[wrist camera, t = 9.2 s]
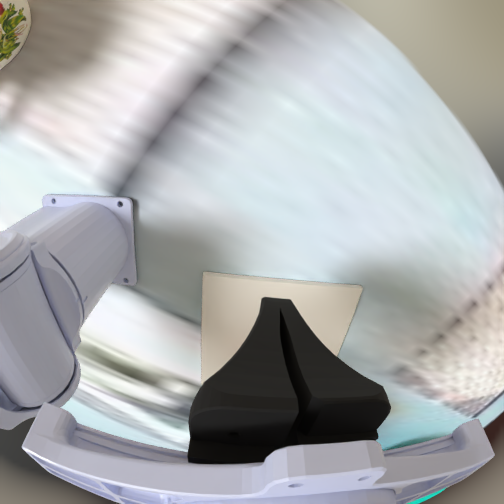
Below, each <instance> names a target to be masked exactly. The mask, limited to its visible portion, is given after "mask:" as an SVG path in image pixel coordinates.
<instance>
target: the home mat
mask: <svg viewBox="0 0 504 504" xmlns="http://www.w3.org/2000/svg"><path fill="white" fill-rule="evenodd" d="M362 290H363V288H362V286H361V285H350V284H337V283H324V282H312V281H300V280H288V279H277V278H265V277H255V276H244V275H234V274H224V273H214V272H205V271H204V272H203V284H202V327H201V385H203V383H204V381H206V380H207V379H208V378H210V377H211V376H212V375H214V374H215V373H216V372H217V371H218V370H220V369H221V368H222V367H223V366H224V365H225V364H226V363H227V362H228V361H229V360H230V359H231V358H232V356H233V355H234V354H235V353H236V352H237V350H238V349H239V348H240V347H241V345H242V344H243V342H244V341H245V339H246V338H247V336H248V335H249V333H250V331H251V329H252V327H253V326H254V324H255V321H256V319H257V317H258V314H259V310H260V304H261V299H262V298H263V297H272V298H282V299H291V301H292V302H293V303H294V305H295V307H296V308H297V310H298V311H299V313H300V314H301V316H302V317H303V319H304V320H305V322H306V323H307V325H308V326H309V327H310V329H311V330H312V331H313V332H314V334H315V335H316V336H317V337H318V339H319V340H320V341H321V342H322V343H323V344H324V345H325V346H326V347H327V348H328V349H329V350H330V351H331V352H332V353H333V354H334V355H335V356H337V355H338V353H339V350H340V348H341V345H342V343H343V341H344V338H345V336H346V333H347V331H348V328H349V325H350V323H351V320H352V318H353V315H354V312H355V310H356V307H357V304H358V301H359V298H360V296H361V293H362Z"/></svg>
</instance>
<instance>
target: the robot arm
mask: <svg viewBox="0 0 504 504" xmlns="http://www.w3.org/2000/svg"><path fill="white" fill-rule="evenodd" d="M54 199H55V201H56V202H54ZM119 201H121V202H122V203H123V206H120V204H119ZM42 203H43V207H42V208H40V209H39V210H37V211H35V212H33V213H32V214H30V215H28V216H27V217H25V218H23V219H22V220H20V221H19V222H17V223H15V224H14V225H12V226H11V227H9V228H7V229H6V230H5V231H1V232H0V428H1V429H6V430H11V429H13V428H14V427H15V426H17V425H18V424H20V423H21V422H23V421H24V420H26V419H29V418H32V417H36V418H35V420H34V422H33V424H32V426H31V428H30V430H29V432H28V434H27V437H26V439H25V441H24V443H23V445H22V448H23V449H24V450H25V451H26V452H27V453H28V454H29V455H30V456H31V457H32V458H33V459H34V460H35V461H37V462H38V463H39V464H40V465H41V466H42V467H43V468H45V469H46V470H47V471H48V472H49V473H51V474H53V475H55V476H57V477H60V478H61V479H63V480H66V481H68V482H70V483H72V484H74V485H76V486H79V487H81V488H83V489H86V490H88V491H90V492H92V493H95V494H97V495H100V496H102V497H105V498H107V499H110V500H112V501H115V502H118V503H121V504H407V503H410V502H412V501H415V500H417V499H420V498H423V497H425V496H427V495H430V494H432V493H435V492H437V491H439V490H442V489H444V488H446V487H448V486H451V485H453V484H455V483H457V482H459V481H461V480H463V479H465V478H466V477H468V476H469V475H471V474H472V473H473V472H475V471H476V470H477V469H479V468H480V467H481V466H483V465H484V464H485V463H486V462H488V461H489V460H490V459H491V458H493V457H494V452H493V450H492V447H491V445H490V443H489V441H488V438H487V436H486V434H485V432H484V429H483V427H482V425H481V423H480V421H479V419H474V420H472V421H469V422H466V423H463V424H462V425H460V426H459V427H458V428H456V429H455V430H454V432H453V433H452V434H450V435H447V436H443V437H440V438H437V439H433V440H430V441H426V442H422V443H418V444H414V445H410V446H405V447H401V448H396V449H391V450H386V451H383V450H382V447H381V444H380V443H378V442H377V441H376V440H377V439H378V433H377V429H378V427H379V426H380V425H381V424H382V423H383V421H384V420H385V419H386V418H387V416H388V414H389V413H390V410H391V406H390V403H389V400H388V397H387V394H386V392H385V390H384V388H383V386H381V385H379V384H377V383H375V382H374V381H372V380H370V379H368V378H366V377H364V376H363V375H361V374H360V373H358V372H356V371H355V370H353V369H352V368H351V367H349V366H348V365H346V364H345V363H344V362H343V361H341V360H340V359H339V358H338V357H337V356H335V355H334V354H333V353H332V352H331V351H330V350H329V349H328V348H327V347H326V346H325V345H324V344H323V343H322V342H321V341H320V340H319V339H318V337H317V336H316V335H315V334H314V332H313V331H312V330H311V329H310V327H309V326H308V325H307V323H306V322H305V320H304V319H303V317H302V316H301V314H300V313H299V311H298V310H297V308H296V307H295V305H294V303H293V302H292V301H291V299H282V298H272V297H263V298H262V299H261V304H260V310H259V314H258V317H257V319H256V321H255V324H254V326H253V327H252V329H251V331H250V333H249V335H248V336H247V338H246V339H245V341H244V342H243V344H242V345H241V347H240V348H239V349H238V350H237V352H236V353H235V354H234V355H233V356H232V358H231V359H230V360H229V361H228V362H227V363H226V364H225V365H224V366H223V367H222V368H221V369H220V370H218V371H217V372H216V373H215V374H214V375H212V376H211V377H210V378H208V379H207V380H206V381H204V383H203V385H202V386H201V388H200V390H199V391H198V393H197V395H196V397H195V399H194V401H193V403H192V406H191V409H190V415H189V422H188V423H189V431H190V443H189V449H188V452H183V451H177V450H172V449H167V448H162V447H157V446H153V445H148V444H144V443H140V442H136V441H132V440H128V439H125V438H121V437H118V436H114V435H111V434H108V433H105V432H102V431H99V430H96V429H93V428H90V427H87V426H84V425H81V424H79V423H77V422H76V419H75V418H74V416H73V415H72V414H71V413H69V412H68V411H66V410H64V409H62V408H60V407H62V406H63V405H64V404H65V403H66V402H67V401H68V400H69V399H70V398H71V397H72V395H73V394H74V392H75V391H76V389H77V387H78V384H79V381H80V376H81V369H80V364H79V362H78V359H77V357H76V355H75V354H74V353H75V351H76V349H77V347H78V346H79V344H80V342H81V339H80V335H79V331H80V328H81V326H82V325H83V323H84V322H85V320H86V319H87V317H88V316H89V314H90V313H91V311H92V310H93V308H94V307H95V306H96V304H97V303H98V301H99V300H100V298H101V297H102V295H103V294H104V293H105V291H106V290H107V288H108V287H109V286H110V284H111V283H116V284H122V285H129V286H134V285H135V284H136V283H137V272H136V260H135V246H134V227H133V203H132V200H131V199H130V198H128V197H110V196H87V195H50V194H47V195H45V196H43V198H42ZM125 278H127V279H128V281H127V280H125Z"/></svg>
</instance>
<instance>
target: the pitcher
mask: <svg viewBox="0 0 504 504" xmlns="http://www.w3.org/2000/svg"><path fill="white" fill-rule="evenodd" d="M30 27H31V13H30V7H29V4H28V1H27V0H0V70H1V69H2V68H3V67H4V66H5V65H7V64H8V63H9V62H10V61H12V60H13V59H14V57H15V56H16V55H17V54H18V52H19V51H20V49H21V48H22V46H23V44H24V43H25V41H26V38H27V36H28V33H29V31H30Z"/></svg>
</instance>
